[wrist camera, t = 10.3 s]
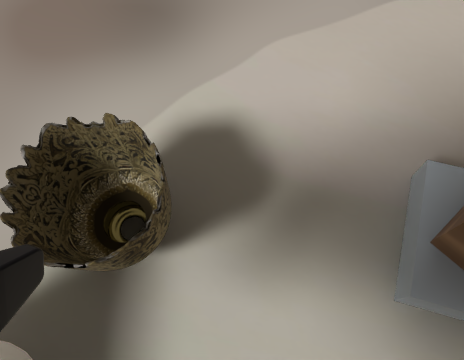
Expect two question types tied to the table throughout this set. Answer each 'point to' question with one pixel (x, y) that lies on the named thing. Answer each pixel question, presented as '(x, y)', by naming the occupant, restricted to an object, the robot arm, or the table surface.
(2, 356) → the cylinder with rectangular tab
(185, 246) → the table surface
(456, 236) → the walnut pillar
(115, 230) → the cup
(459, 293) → the slate block
